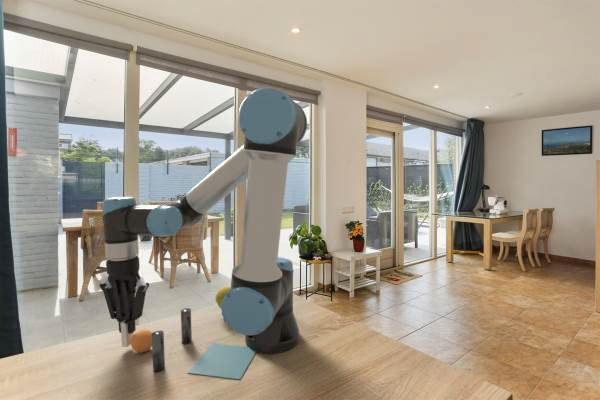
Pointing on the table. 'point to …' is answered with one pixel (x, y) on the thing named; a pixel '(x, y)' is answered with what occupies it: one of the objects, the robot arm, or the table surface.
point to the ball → (142, 341)
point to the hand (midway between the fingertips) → (128, 343)
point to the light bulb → (221, 295)
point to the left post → (158, 351)
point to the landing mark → (223, 361)
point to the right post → (186, 326)
